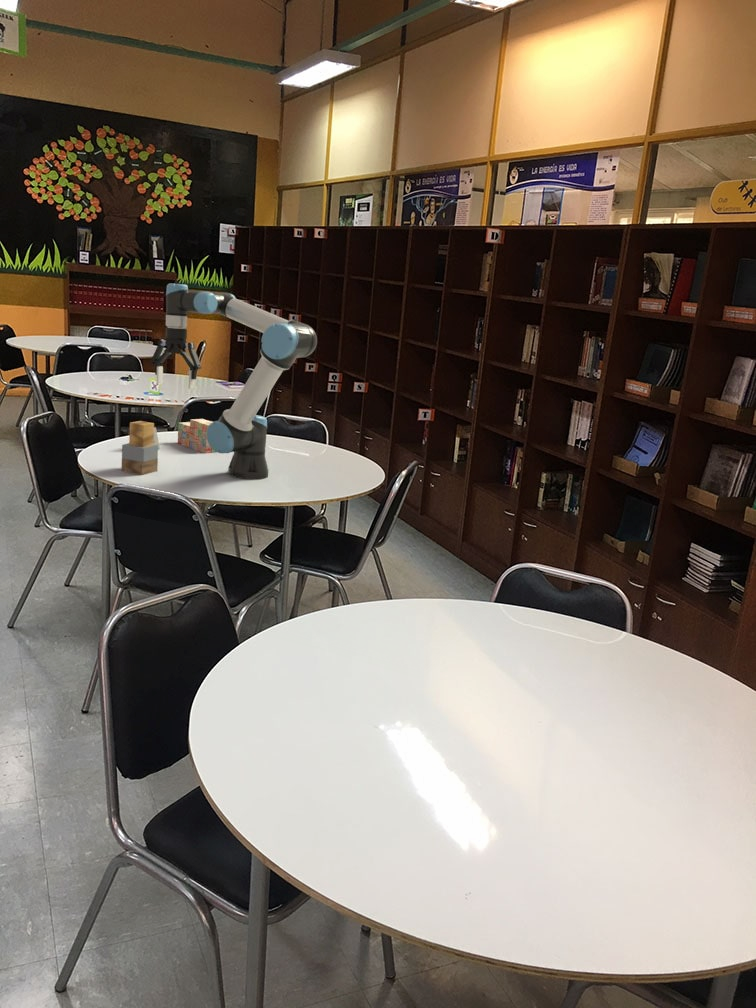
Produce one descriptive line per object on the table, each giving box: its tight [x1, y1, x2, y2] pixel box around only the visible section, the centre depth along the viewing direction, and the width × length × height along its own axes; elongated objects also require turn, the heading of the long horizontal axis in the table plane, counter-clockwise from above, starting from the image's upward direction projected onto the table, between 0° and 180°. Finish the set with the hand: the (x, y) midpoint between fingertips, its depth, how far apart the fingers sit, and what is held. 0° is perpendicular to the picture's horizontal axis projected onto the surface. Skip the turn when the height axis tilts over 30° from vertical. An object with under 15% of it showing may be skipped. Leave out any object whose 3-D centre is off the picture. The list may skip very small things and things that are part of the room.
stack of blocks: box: [177, 418, 218, 454], centre depth 350 cm, size 21×6×12 cm, turn 46°
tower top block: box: [121, 442, 159, 462], centre depth 301 cm, size 9×9×5 cm
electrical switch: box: [153, 426, 161, 451], centre depth 337 cm, size 9×5×9 cm, turn 152°
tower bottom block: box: [121, 457, 159, 476], centre depth 302 cm, size 9×9×5 cm
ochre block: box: [128, 420, 155, 447], centre depth 299 cm, size 6×6×8 cm
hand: (175, 386), depth 305 cm, fingers open, 13 cm apart
